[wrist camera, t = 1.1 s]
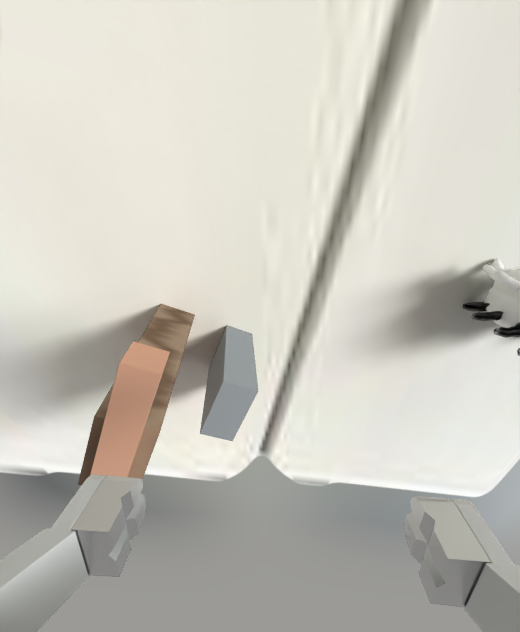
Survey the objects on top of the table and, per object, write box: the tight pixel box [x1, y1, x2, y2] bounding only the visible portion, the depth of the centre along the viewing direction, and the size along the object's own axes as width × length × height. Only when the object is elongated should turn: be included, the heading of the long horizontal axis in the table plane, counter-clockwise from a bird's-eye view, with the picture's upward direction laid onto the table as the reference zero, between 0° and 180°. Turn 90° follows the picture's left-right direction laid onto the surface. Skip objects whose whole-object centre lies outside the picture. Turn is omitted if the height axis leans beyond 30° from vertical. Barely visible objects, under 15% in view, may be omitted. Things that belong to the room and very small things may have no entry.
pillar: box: [78, 304, 195, 485], centre depth 40 cm, size 6×10×26 cm, turn 157°
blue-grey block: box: [200, 326, 258, 441], centre depth 48 cm, size 5×10×16 cm, turn 157°
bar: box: [90, 341, 170, 477], centre depth 26 cm, size 3×22×3 cm, turn 157°
